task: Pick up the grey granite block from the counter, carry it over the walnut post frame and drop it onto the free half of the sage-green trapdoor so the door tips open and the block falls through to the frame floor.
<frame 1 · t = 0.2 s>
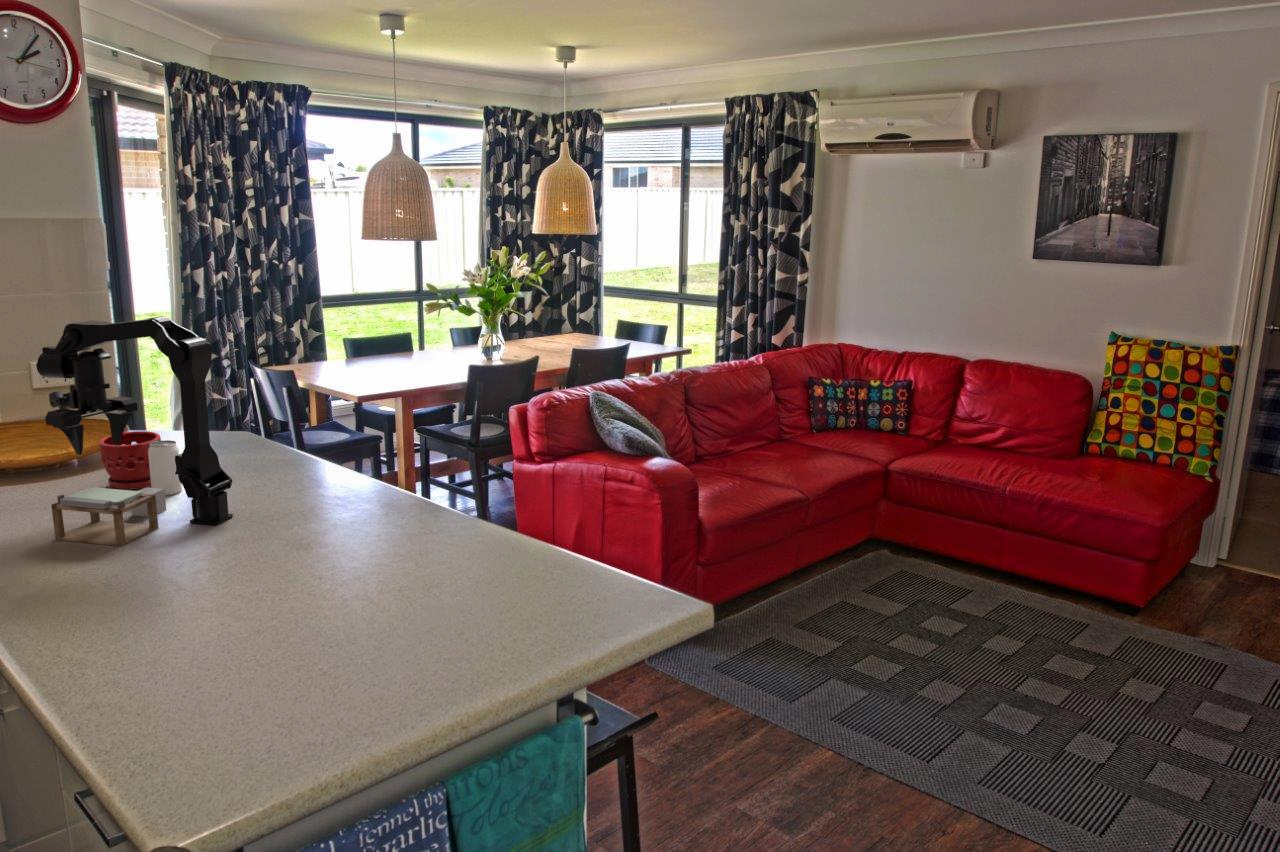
hand: (97, 449, 207), 14 cm above the counter, fingers open, 9 cm apart
stone: (149, 512, 209), on the counter
plant pot: (135, 485, 229), on the counter
trapdoor: (99, 497, 193), point 8 cm above the counter, hinge at 0.0°
frame: (108, 533, 196), on the counter
can: (167, 492, 224), on the counter
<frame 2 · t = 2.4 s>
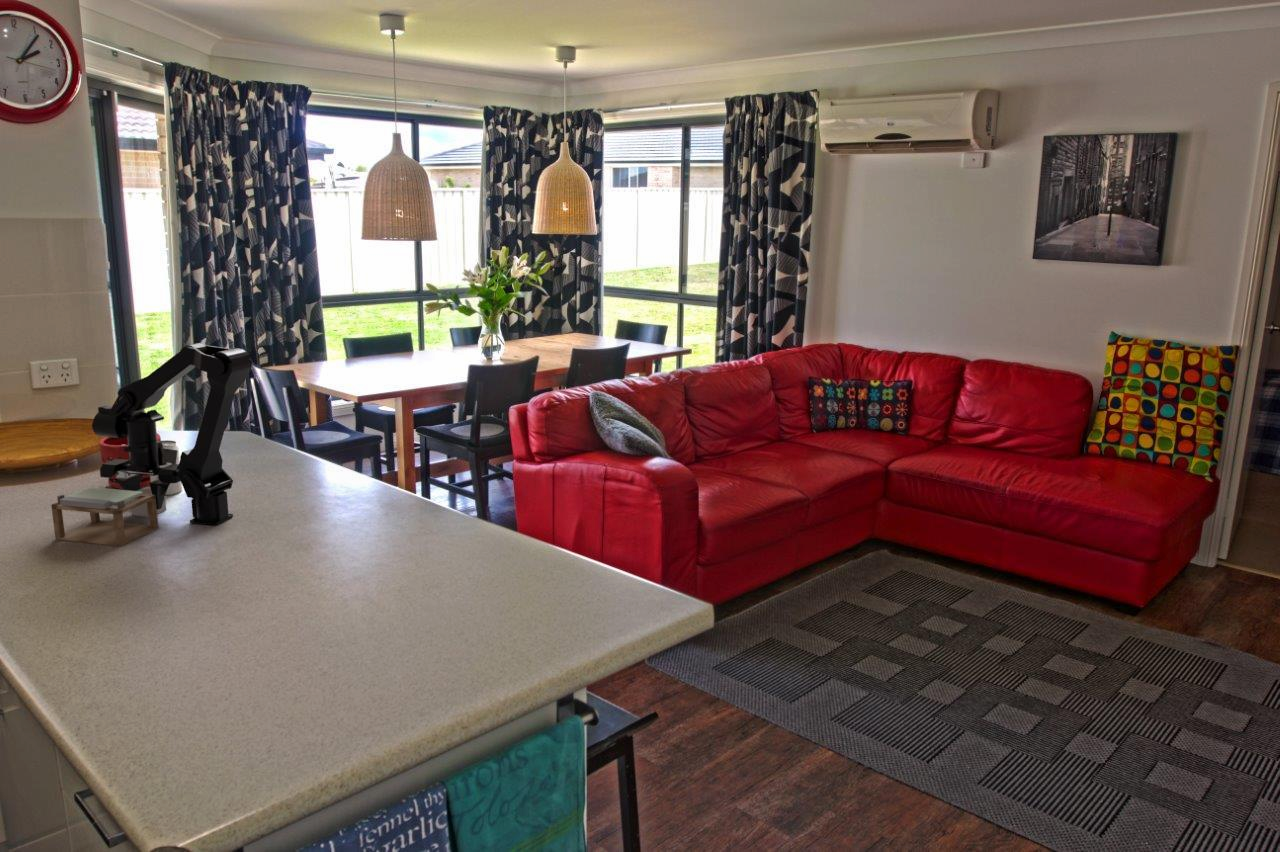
hand: (149, 508, 209), 1 cm above the counter, fingers closed on stone, 5 cm apart
stone: (149, 512, 209), on the counter, touching gripper
everything else where it was.
when the fingers open (12 cm above the counter, at t = 5.9 s): stone drops 5 cm, resting on frame, trapdoor.
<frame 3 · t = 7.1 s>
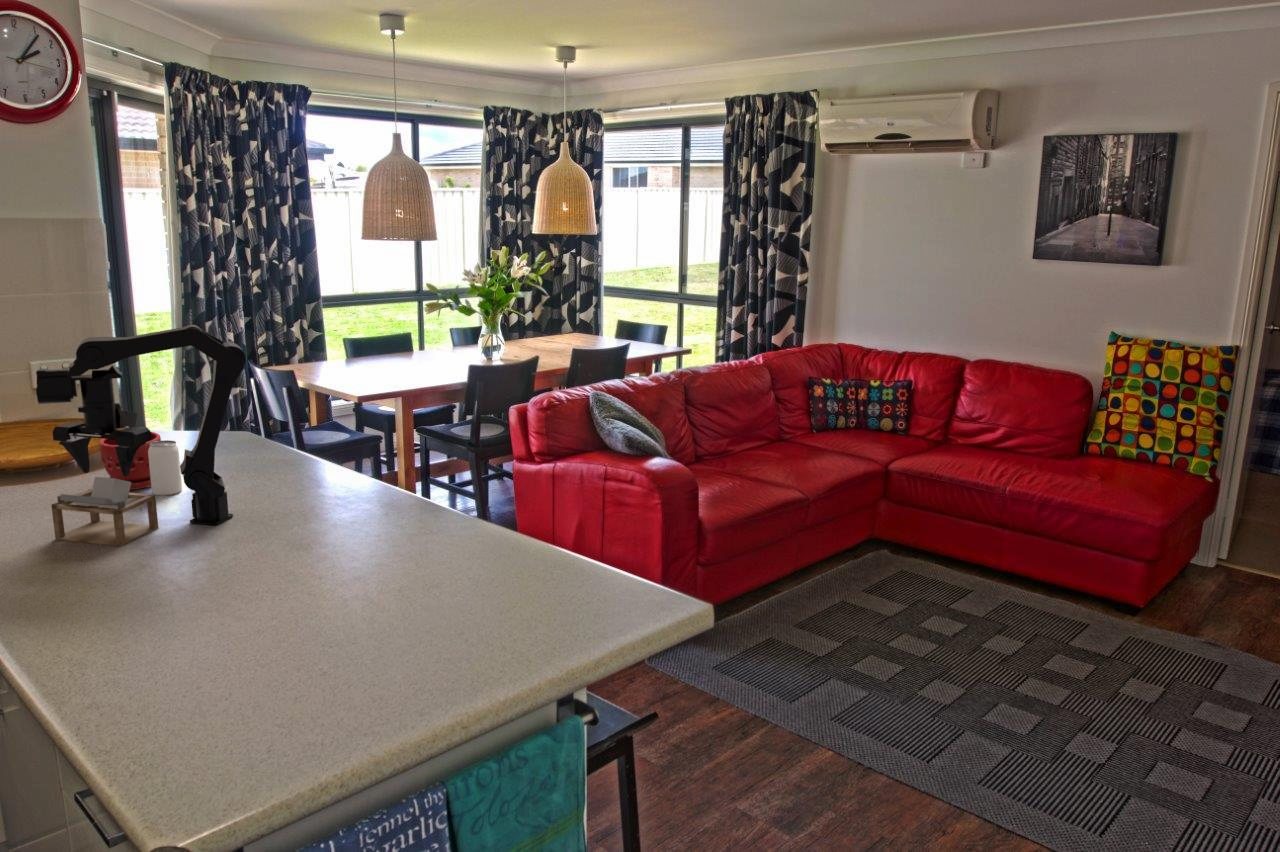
hand: (106, 474, 194), 12 cm above the counter, fingers open, 9 cm apart
stone: (108, 503, 195), point 6 cm above the counter, tilted 25°, touching frame, trapdoor
trapdoor: (99, 502, 193), point 7 cm above the counter, hinge at -25.8°, touching stone
everything else where it was.
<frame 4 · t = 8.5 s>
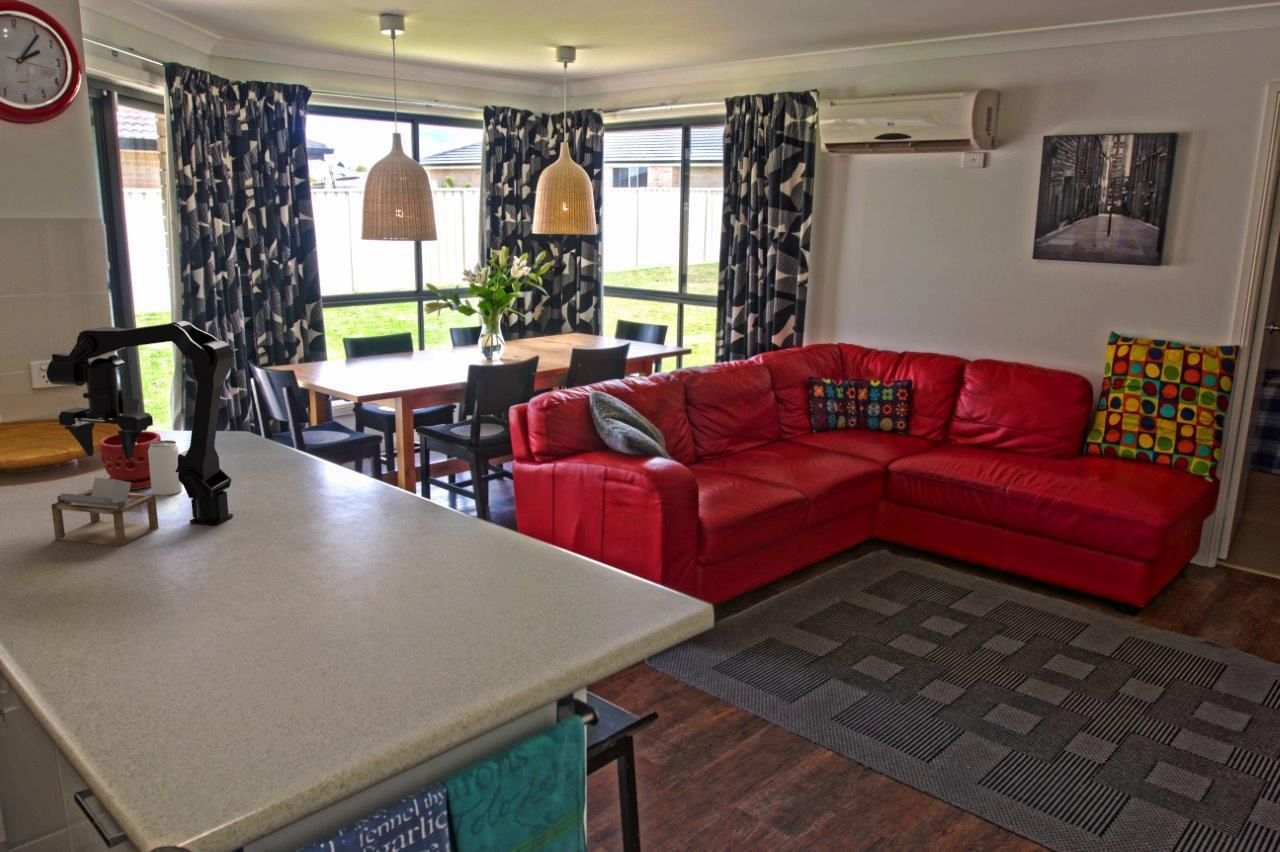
hand: (109, 457, 204), 13 cm above the counter, fingers open, 9 cm apart
trapdoor: (99, 503, 193), point 7 cm above the counter, hinge at -29.7°, touching stone
everything else where it was.
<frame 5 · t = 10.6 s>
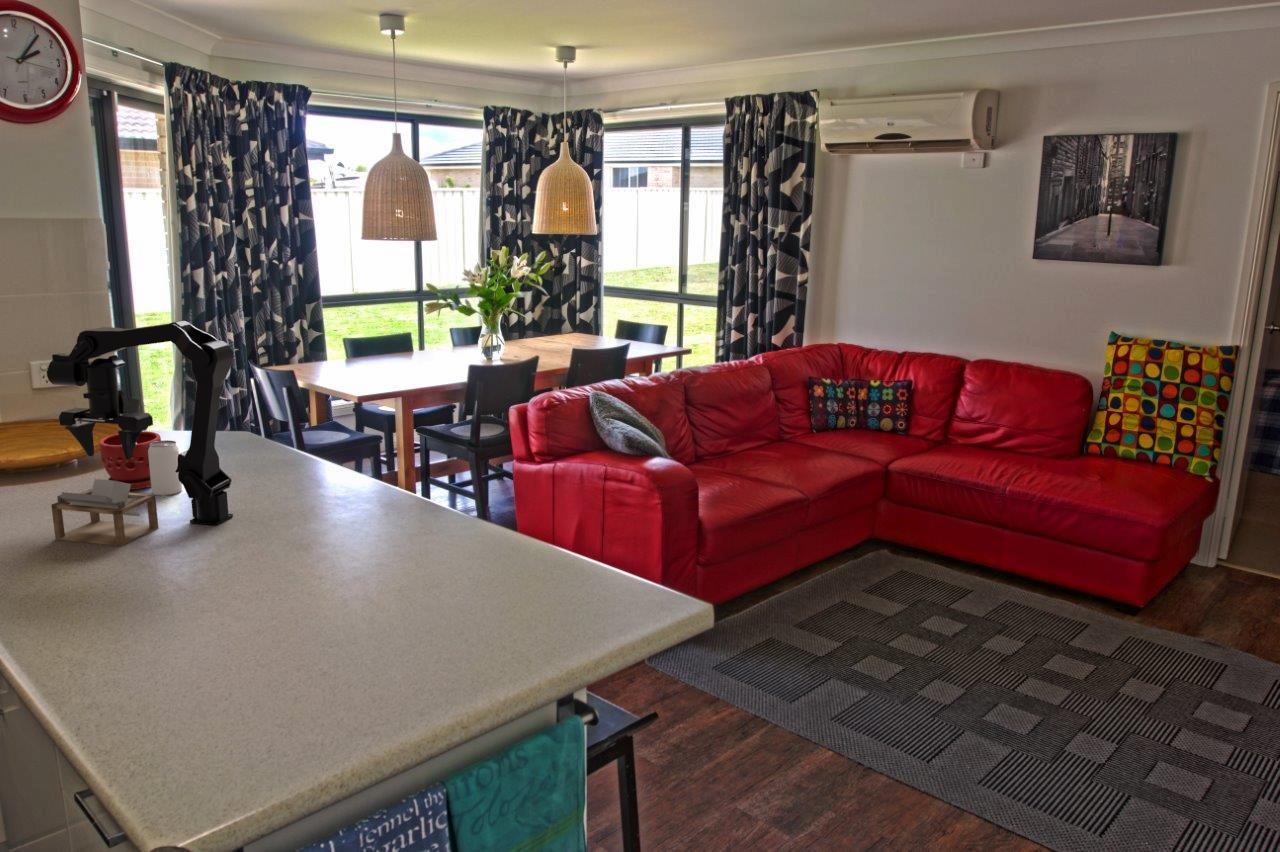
hand: (110, 457, 204), 13 cm above the counter, fingers open, 9 cm apart
stone: (107, 505, 195), point 6 cm above the counter, tilted 25°, touching trapdoor
trapdoor: (99, 504, 193), point 7 cm above the counter, hinge at -36.2°, touching stone
everything else where it was.
at the end: stone point 5.9 cm above the counter; stone inside the target area on the frame (1.9 cm from its centre), point 5.9 cm above the frame's base; trapdoor at -37° (first picture: +0°) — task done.
